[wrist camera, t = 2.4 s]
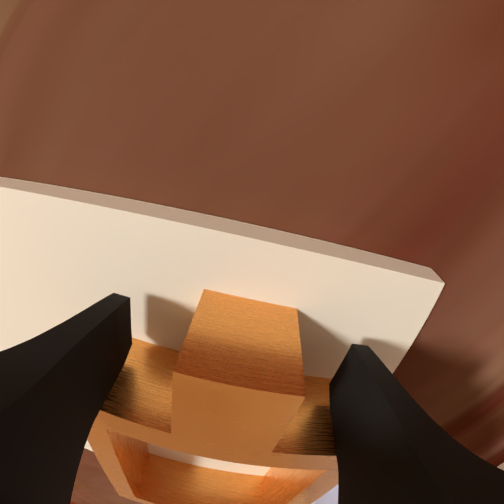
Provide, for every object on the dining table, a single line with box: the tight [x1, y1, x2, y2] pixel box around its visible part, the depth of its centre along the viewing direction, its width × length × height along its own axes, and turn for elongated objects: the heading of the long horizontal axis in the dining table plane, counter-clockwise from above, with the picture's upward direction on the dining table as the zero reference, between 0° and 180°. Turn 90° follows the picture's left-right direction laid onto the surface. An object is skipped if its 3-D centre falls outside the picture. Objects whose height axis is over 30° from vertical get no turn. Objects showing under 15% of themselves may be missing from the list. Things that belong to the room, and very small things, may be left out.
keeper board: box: [0, 177, 445, 476], centre depth 10 cm, size 20×22×7 cm
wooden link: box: [87, 289, 338, 504], centre depth 11 cm, size 15×10×4 cm, turn 168°
